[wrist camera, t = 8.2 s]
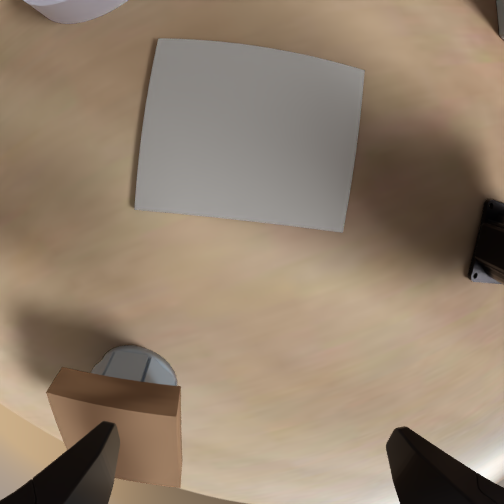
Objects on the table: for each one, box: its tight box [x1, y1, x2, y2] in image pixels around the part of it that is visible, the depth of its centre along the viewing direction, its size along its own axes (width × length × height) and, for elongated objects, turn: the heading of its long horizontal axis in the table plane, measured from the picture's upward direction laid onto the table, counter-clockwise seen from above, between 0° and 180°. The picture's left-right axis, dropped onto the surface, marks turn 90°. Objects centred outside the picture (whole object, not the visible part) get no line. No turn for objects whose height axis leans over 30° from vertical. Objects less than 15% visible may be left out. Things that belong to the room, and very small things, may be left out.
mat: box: [135, 38, 365, 233], centre depth 17 cm, size 12×10×1 cm
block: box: [46, 367, 182, 488], centre depth 15 cm, size 7×7×2 cm
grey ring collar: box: [91, 345, 177, 386], centre depth 18 cm, size 6×6×4 cm
